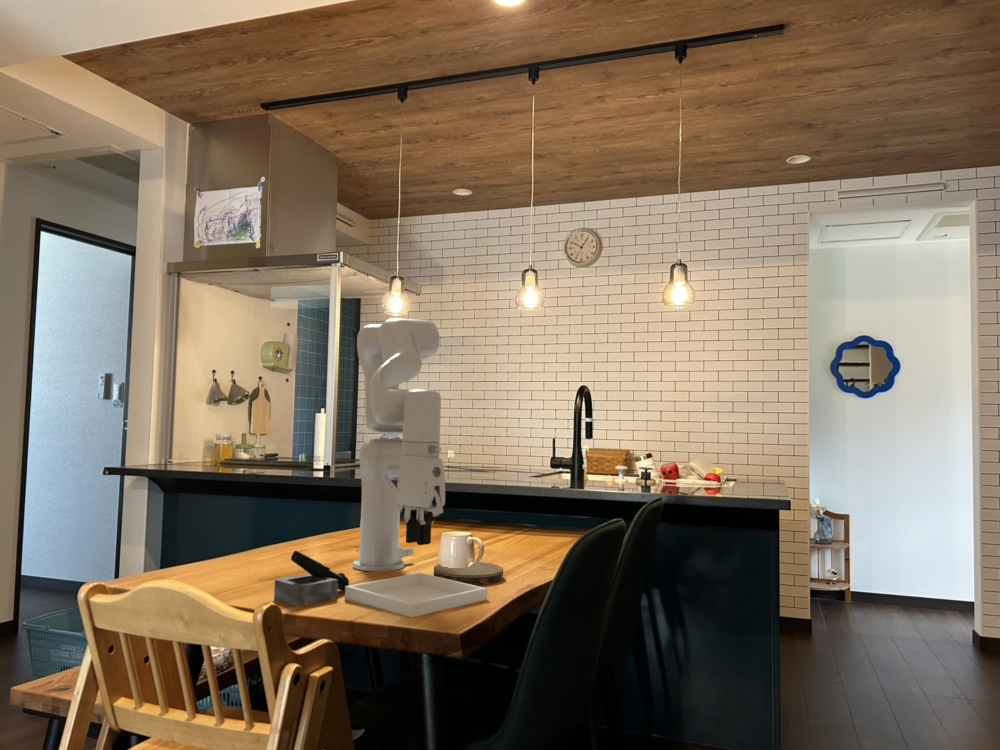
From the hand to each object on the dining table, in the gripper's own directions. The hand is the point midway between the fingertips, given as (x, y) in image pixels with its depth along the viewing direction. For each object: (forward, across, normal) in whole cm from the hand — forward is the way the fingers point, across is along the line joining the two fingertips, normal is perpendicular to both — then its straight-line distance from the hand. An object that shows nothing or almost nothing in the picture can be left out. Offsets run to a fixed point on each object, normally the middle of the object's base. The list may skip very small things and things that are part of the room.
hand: (418, 542), depth 153 cm
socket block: (+12, +16, +15) cm, 25 cm away
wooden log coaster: (+12, +8, -23) cm, 28 cm away
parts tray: (+12, 0, 0) cm, 12 cm away
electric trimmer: (+4, +17, +19) cm, 26 cm away
